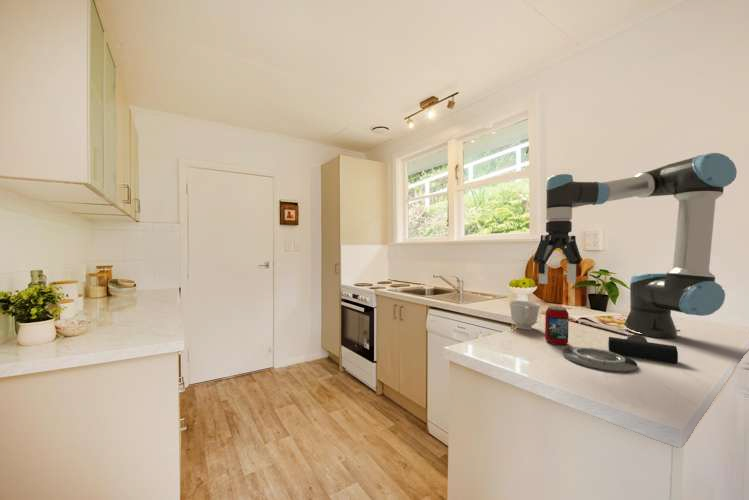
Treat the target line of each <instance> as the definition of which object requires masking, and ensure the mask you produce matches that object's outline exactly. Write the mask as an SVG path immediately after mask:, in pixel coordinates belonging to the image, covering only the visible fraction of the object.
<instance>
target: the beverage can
mask: <svg viewBox="0 0 749 500" xmlns="http://www.w3.org/2000/svg"><path fill="white" fill-rule="evenodd" d="M569 323H570V321H569V312H568V310H567V309H566V308H565V307H562V306H557V305H556V306H553V305H551V306H548V307H547V309H546V310H545V323H544V324H545V325H544V326H545V327H544V333H545V334H544V335H545V336H544V338H545V340H546V341H547V342H548V343H549V344H553V345H555V346H565V345H566V344H569Z"/></svg>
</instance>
